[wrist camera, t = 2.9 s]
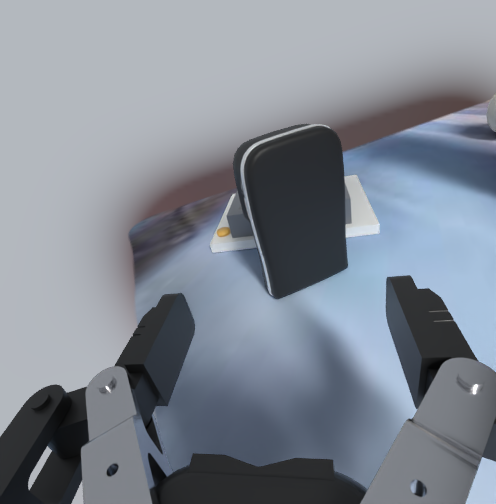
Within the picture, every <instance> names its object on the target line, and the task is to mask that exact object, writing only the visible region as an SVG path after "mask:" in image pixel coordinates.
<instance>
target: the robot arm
mask: <svg viewBox="0 0 496 504" xmlns="http://www.w3.org/2000/svg"><path fill="white" fill-rule="evenodd" d="M386 317H387V322H388V326H389V329H390V332H391V335H392V338H393V341H394V344H395V347H396V350H397V353H398V356H399V359H400V362H401V365H402V368H403V371H404V374H405V377H406V380H407V383H408V386H409V389H410V392H411V395H412V398H413V401H414V404H415V407H416V409H418V410H417V412H416V414H415V415H414V417H413V418H412V419H408V420H407V421H406V422H405V423H404V425H403V427H402V428H401V430H400V432H399V434H398V436H397V437H396V439H395V441H394V443H393V445H392V447H391V448H390V450H389V452H388V454H387V456H386V458H385V459H384V461H383V463H382V465H381V467H380V468H379V470H378V472H377V474H376V476H375V478H374V479H373V481H372V483H371V485H370V487H369V489H368V490H367V489H366V488H365V487H363V486H362V485H361V484H359V483H358V482H356V481H355V480H353V479H351V478H349V477H347V476H345V475H343V474H341V473H338V472H335V471H334V465H333V460H330V459H307V458H294V459H290V460H286V461H281V462H277V463H273V464H269V465H265V466H261V467H257V466H253V465H251V464H248V463H245V462H243V461H240V460H237V459H234V458H232V457H229V456H226V455H215V454H193V455H192V459H191V463H190V465H189V466H186V467H184V468H181V469H179V470H177V471H175V472H173V470H172V468H171V466H170V464H169V461H168V459H167V455H166V452H165V449H164V445H163V442H162V439H161V436H160V432H159V429H158V426H157V422H156V419H155V417H154V415H153V412H154V409H155V407H156V406H168V403H169V400H170V398H171V395H172V392H173V390H174V387H175V384H176V381H177V379H178V376H179V373H180V371H181V368H182V365H183V362H184V360H185V357H186V354H187V352H188V349H189V346H190V344H191V341H192V338H193V335H194V331H195V323H194V319H193V317H192V314H191V312H190V309H189V307H188V304H187V302H186V299H185V297H184V295H183V294H182V293H178V294H166V295H163V296H162V297H161V299H160V301H159V303H158V305H157V306H156V307H153V308H152V309H151V310H150V311H149V312H148V313H147V314H145V315H144V316H143V318H142V320H141V321H140V323H139V325H138V328H136V330H135V332H134V333H133V337H131V338H130V340H129V342H128V344H127V345H126V347H125V349H124V350H123V352H122V354H121V355H120V357H119V359H118V361H117V363H116V364H115V366H114V367H110V368H107V369H105V370H103V371H102V372H100V373H99V374H97V375H96V376H95V377H94V378H93V379H92V380H91V382H90V383H89V385H88V387H84V388H81V389H78V390H75V391H72V392H69V393H66V392H65V391H64V389H63V388H62V387H61V386H60V385H50V386H47V387H45V388H43V389H41V390H39V391H38V392H36V393H35V394H34V395H33V396H31V397H30V398H29V399H28V400H27V401H26V403H25V404H24V405H23V407H22V408H21V410H20V411H19V412H18V413H17V415H16V416H15V418H14V419H13V420H12V422H11V423H10V425H9V426H8V427H7V429H6V430H5V431H4V433H3V434H2V435H1V437H0V504H71V503H72V500H73V499H74V496H75V494H76V492H77V490H78V488H79V485H80V483H81V481H83V499H84V504H466V501H467V498H468V495H469V493H470V490H471V487H472V484H473V481H474V478H475V475H476V473H477V470H478V467H479V464H480V461H481V458H482V457H484V458H487V459H490V460H493V461H496V372H495V371H493V370H492V369H491V368H490V367H488V366H486V365H485V364H483V363H481V362H479V361H478V360H477V358H476V357H475V355H474V353H473V352H472V350H471V348H470V347H469V345H468V343H467V341H466V340H465V338H464V336H463V335H462V333H461V331H460V329H459V328H458V326H457V324H456V323H455V322H454V320H453V317H452V316H451V314H450V312H448V309H447V307H446V305H445V304H444V302H443V300H442V299H441V297H439V296H438V295H437V294H435V293H434V292H433V291H431V290H430V289H429V288H428V289H417V287H416V285H415V283H414V281H413V279H412V277H411V276H410V275H408V276H395V277H387V281H386ZM47 446H48V447H49V448H50V449H51V450H52V452H51V454H50V455H49V457H48V459H47V461H46V463H45V464H44V466H43V468H42V470H41V471H40V473H39V475H38V476H37V478H36V480H35V482H34V484H33V485H32V487H31V489H30V491H29V489H28V481H29V477H30V474H31V473H32V471H33V469H34V468H35V466H36V464H37V462H38V461H39V459H40V457H41V456H42V454H43V452H44V450H45V449H46V447H47Z"/></svg>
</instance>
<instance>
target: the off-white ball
mask: <svg viewBox="0 0 496 504" xmlns="http://www.w3.org/2000/svg"><path fill="white" fill-rule="evenodd" d="M487 122H488V124H489V126H490V128H491V129H492V130H493V131H494V132H496V93H495V94H494V95H493V97H492V99H491V100H490V102H489V105H488V108H487Z"/></svg>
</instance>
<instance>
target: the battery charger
mask: <svg viewBox="0 0 496 504" xmlns="http://www.w3.org/2000/svg"><path fill="white" fill-rule="evenodd" d="M233 169H234V176H235V181H236V186H237V190H238V195H239V199H240V203H241V207H242V211H243V215H244V217H245V218H246V219H247V220H248V221H249V223H250V226H251V230H252V233H253V237H254V240H255V243H256V247H257V250H258V253H259V256H260V261H261V265H262V272H263V277H264V281H265V284H266V287H267V289H268V291H269V293H270V294H271V295H272V296H274V297H275V298H281V297H284V296H286V295H289V294H291V293H294V292H296V291H299V290H301V289H303V288H306V287H308V286H311V285H313V284H315V283H317V282H319V281H322V280H324V279H326V278H328V277H330V276H332V275H334V274H336V273H338V272H340V271H342V270H344V269H346V268H347V267H348V261H347V248H346V208H345V179H344V165H343V154H342V147H341V142H340V139H339V137H338V135H337V133H336V132H335V131H333V130H332V129H331V128H330V127H328V126H326V125H321V124H313V125H310V124H301V125H295V126H291V127H288V128H284V129H281V130H277V131H274V132H271V133H268V134H265V135H262V136H259V137H256V138H254V139H251V140H249V141H247V142H245V143H243V144H242V145H241V146H240V147H239V148H238V149H237V151H236V153H235V155H234V161H233Z"/></svg>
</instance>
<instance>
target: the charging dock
mask: <svg viewBox="0 0 496 504" xmlns="http://www.w3.org/2000/svg"><path fill="white" fill-rule="evenodd" d="M344 179H345V208H346V238H347V237H356V236H365V235H373V234H379V222H378V220H377V218H376V216H375V213H374V211H373V209H372V207H371V205H370V203H369V201H368V198H367V196H366V194H365V192H364V190H363V188H362V186H361V183H360V181H359V179H358V177H357V175H351V176H345V177H344ZM210 247H211V250H212V253H217V252H226V251H234V250H243V249H252V248H257V247H256V243H255V240H254V237H253V233H252V230H251V226H250V223H249V221H248V220H247V219H246V218H245V217H244V215H243V211H242V207H241V203H240V199H239V195H238V190H237V192H236V194H232V196H231V198H230V201H229V203H228V205H227V207H226V209H225V212H224V214H223V216H222V218H221V221H220V223H219V225H218V227H217V230H216V232H215V234H214V236H213V239H212V241H211V243H210Z"/></svg>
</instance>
